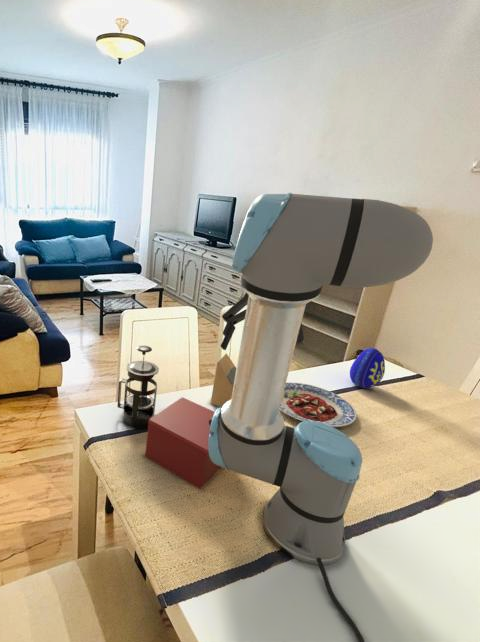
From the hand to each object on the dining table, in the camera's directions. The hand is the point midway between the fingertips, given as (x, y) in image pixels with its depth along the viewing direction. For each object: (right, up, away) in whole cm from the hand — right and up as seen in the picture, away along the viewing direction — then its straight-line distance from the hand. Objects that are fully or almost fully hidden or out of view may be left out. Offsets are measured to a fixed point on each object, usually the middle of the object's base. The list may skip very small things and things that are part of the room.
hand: (248, 357), depth 94 cm
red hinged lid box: (-14, -26, +4) cm, 30 cm away
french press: (-27, -19, +19) cm, 38 cm away
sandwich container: (+6, -17, +28) cm, 34 cm away
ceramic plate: (+29, -18, +30) cm, 45 cm away
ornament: (+56, -13, +46) cm, 74 cm away
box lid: (-13, -16, 0) cm, 21 cm away
